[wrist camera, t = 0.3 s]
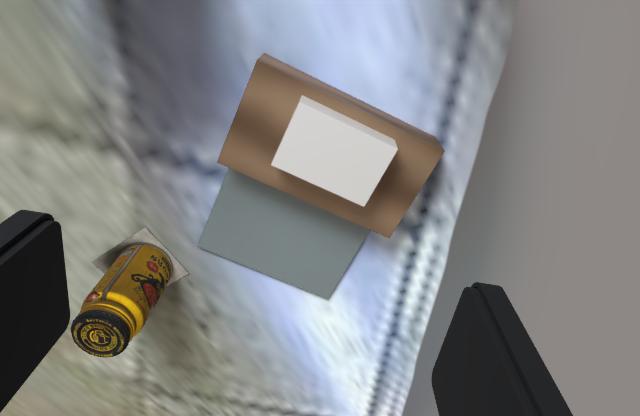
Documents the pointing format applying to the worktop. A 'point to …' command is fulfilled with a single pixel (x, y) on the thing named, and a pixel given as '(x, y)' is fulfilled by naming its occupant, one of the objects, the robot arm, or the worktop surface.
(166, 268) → the condiment
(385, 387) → the worktop surface
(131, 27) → the worktop surface
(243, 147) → the board
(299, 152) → the tile
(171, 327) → the worktop surface
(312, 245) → the mat
